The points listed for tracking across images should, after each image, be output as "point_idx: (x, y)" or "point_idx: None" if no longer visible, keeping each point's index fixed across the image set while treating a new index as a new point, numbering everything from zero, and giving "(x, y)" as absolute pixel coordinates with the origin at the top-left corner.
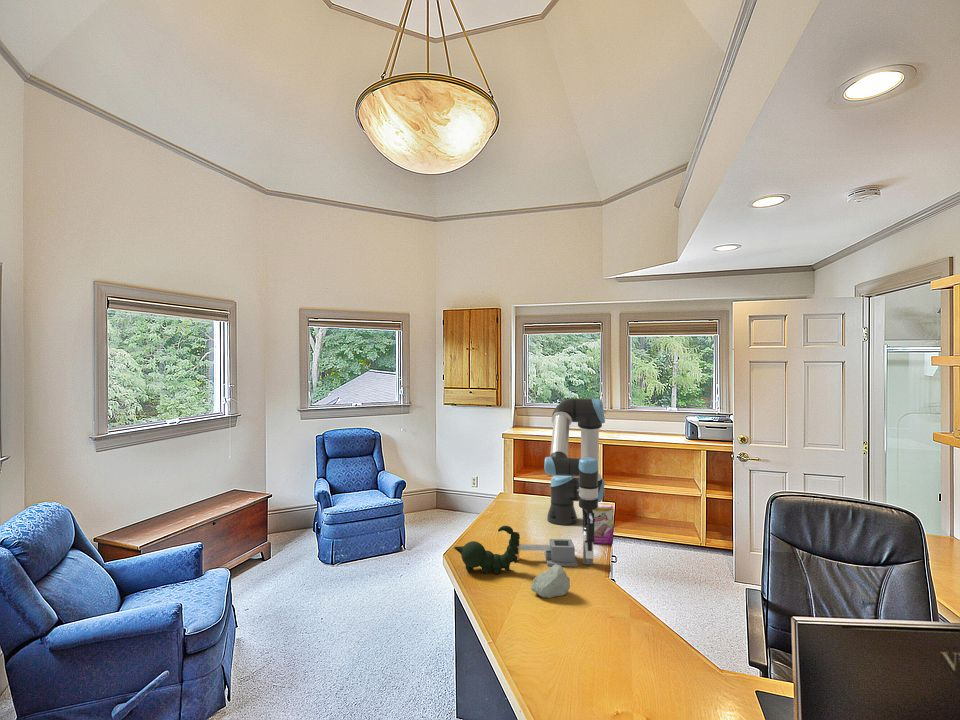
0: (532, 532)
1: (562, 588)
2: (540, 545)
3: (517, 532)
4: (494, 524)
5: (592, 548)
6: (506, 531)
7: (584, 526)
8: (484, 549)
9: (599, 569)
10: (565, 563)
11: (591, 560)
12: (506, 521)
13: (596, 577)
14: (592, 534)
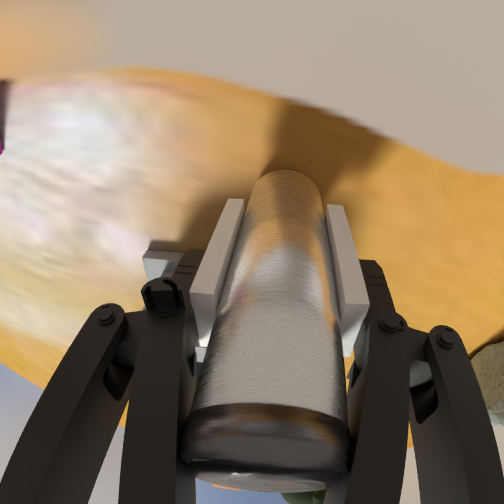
0: (18, 322)
1: None
2: None
3: (216, 484)
4: (31, 372)
5: (355, 259)
6: None
7: (225, 484)
8: (314, 491)
9: (371, 147)
10: None
11: (320, 201)
12: (2, 347)
13: (464, 204)
14: (476, 429)
